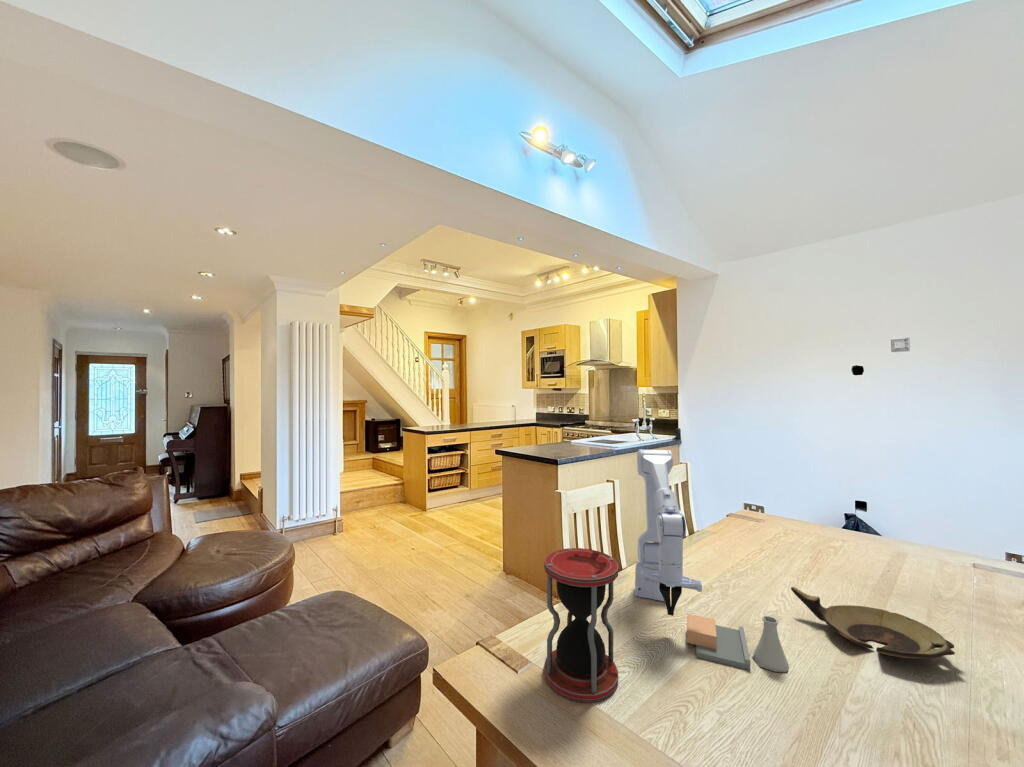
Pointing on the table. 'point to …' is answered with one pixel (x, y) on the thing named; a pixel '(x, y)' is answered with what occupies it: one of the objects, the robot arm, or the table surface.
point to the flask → (770, 648)
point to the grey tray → (727, 648)
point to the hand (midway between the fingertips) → (670, 613)
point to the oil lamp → (880, 629)
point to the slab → (701, 631)
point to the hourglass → (581, 625)
